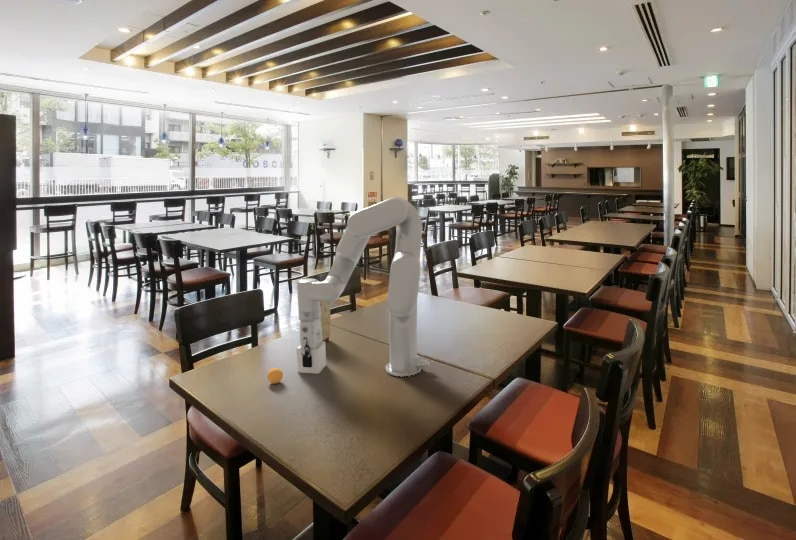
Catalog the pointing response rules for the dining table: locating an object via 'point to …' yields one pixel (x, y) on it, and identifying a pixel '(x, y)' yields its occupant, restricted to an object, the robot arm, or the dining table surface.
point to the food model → (325, 320)
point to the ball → (275, 375)
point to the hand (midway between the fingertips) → (311, 361)
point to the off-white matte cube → (313, 359)
